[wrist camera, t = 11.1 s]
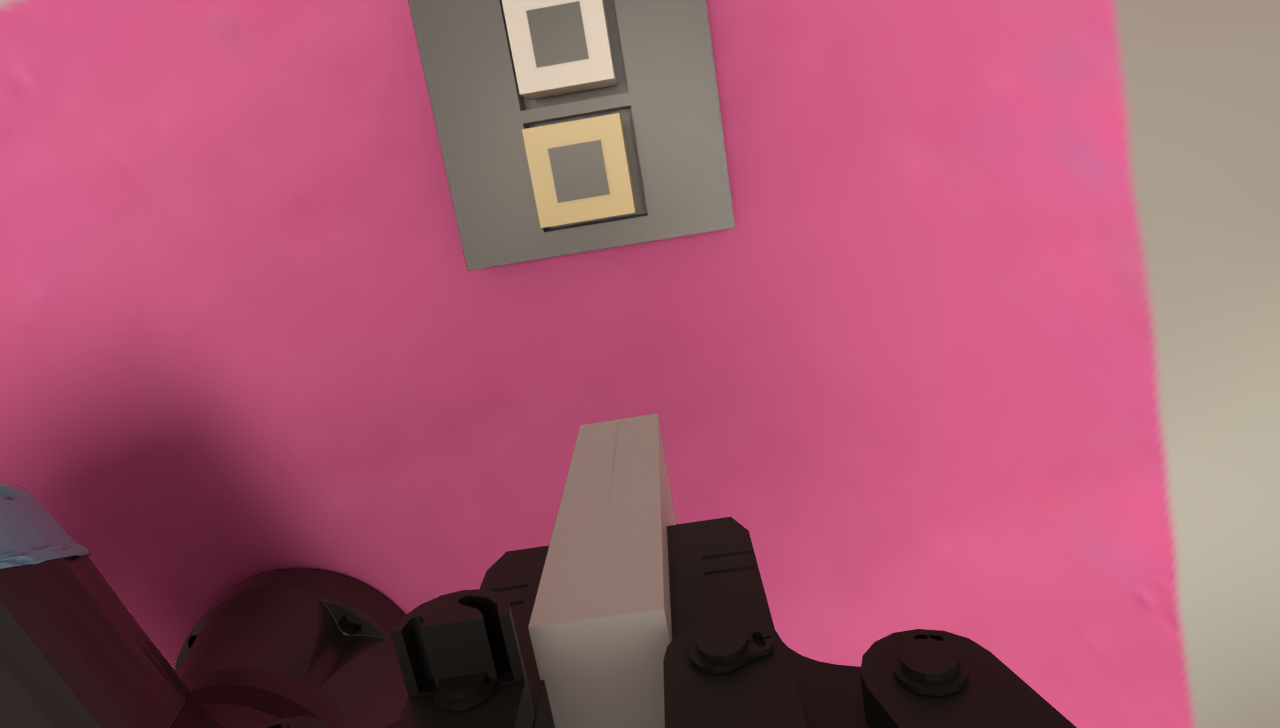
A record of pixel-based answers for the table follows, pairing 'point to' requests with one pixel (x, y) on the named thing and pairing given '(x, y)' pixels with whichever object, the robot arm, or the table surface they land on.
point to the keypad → (644, 96)
